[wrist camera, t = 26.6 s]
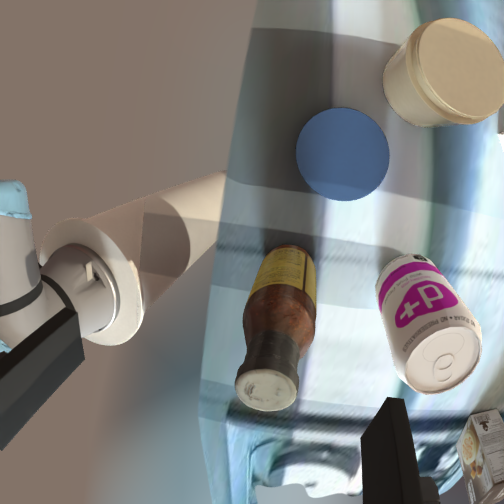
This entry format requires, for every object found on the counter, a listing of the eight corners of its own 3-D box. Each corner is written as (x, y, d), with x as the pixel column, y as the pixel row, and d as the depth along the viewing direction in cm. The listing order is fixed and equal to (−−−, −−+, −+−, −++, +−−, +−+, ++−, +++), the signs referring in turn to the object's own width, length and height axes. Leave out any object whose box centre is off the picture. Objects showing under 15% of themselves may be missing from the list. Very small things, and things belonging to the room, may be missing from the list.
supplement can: (367, 263, 35) (391, 338, 21) (433, 243, 32) (489, 305, 18) (380, 321, 37) (400, 409, 23) (441, 303, 34) (484, 381, 20)
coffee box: (482, 438, 40) (500, 502, 25) (454, 445, 41) (469, 512, 27) (498, 407, 37) (524, 474, 22) (469, 414, 39) (491, 487, 24)
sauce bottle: (252, 268, 38) (189, 381, 19) (287, 230, 35) (249, 329, 17) (293, 303, 38) (264, 432, 20) (329, 269, 36) (331, 393, 17)
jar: (375, 111, 29) (403, 96, 18) (389, 38, 26) (418, -5, 15) (449, 139, 28) (504, 142, 17) (462, 68, 25) (515, 44, 14)
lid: (285, 123, 31) (282, 121, 29) (370, 100, 29) (374, 97, 27) (311, 207, 34) (310, 211, 32) (394, 186, 31) (399, 189, 29)
